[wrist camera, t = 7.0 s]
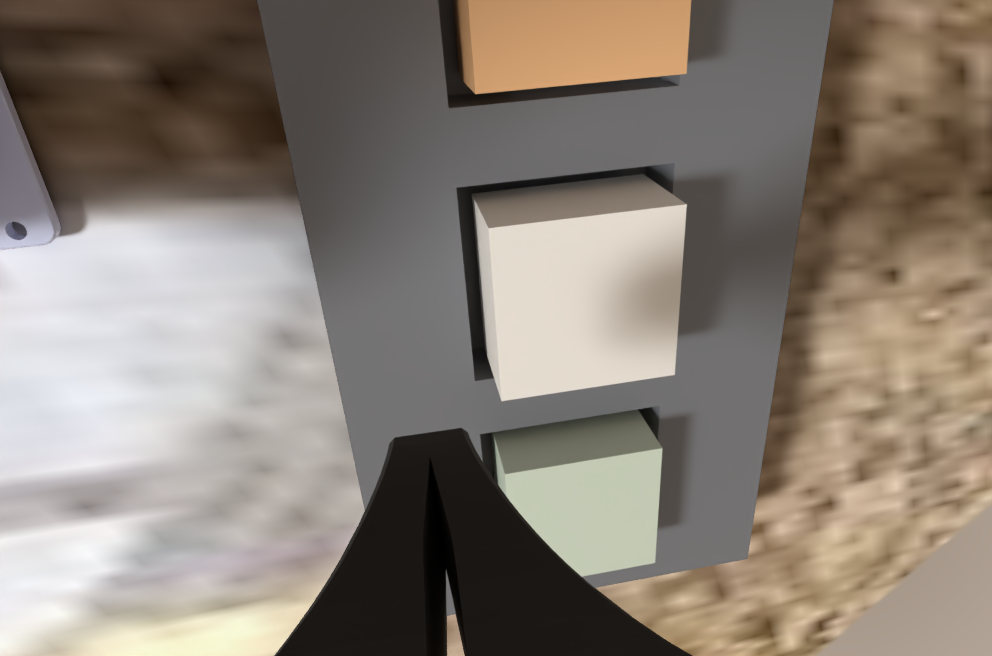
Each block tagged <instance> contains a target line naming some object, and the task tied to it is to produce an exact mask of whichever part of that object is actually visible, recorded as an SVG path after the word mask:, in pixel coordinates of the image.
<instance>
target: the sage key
mask: <svg viewBox="0 0 992 656" xmlns="http://www.w3.org/2000/svg"><path fill="white" fill-rule="evenodd" d="M490 434H491V445H492V457H493V468H494V480H495V482H496V483H497V484H498V486H499V487H500V488H501V490H502V491H503V492H504V494H505V495H506V496H507V498H508V499H509V500H510V502H511V503H512V504H513V506H514V507H515V508H516V509H517V511H518V512H519V513H520V514H521V515H522V517H523V518H524V519H525V520H526V521H527V522H528V523H529V525H530V526H531V527H532V528H533V529H534V530H535V532H536V533H537V534H538V535H539V536H540V537H541V538H542V539H543V540H544V541H545V542H546V543H547V544H548V545H549V546H550V547H551V548H552V549H553V550H554V551H555V552H556V553H557V554H558V555H559V556H560V557H561V558H562V559H563V560H564V561H565V562H566V563H567V564H568V565H569V566H570V567H571V568H572V569H574V570H575V571H576V572H577V573H578V574H579V575H580V576H581V577H583V576H588V575H593V574H599V573H604V572H609V571H615V570H620V569H625V568H631V567H636V566H641V565H647V564H652V563H655V557H656V541H657V526H658V510H659V495H660V479H661V463H662V447H661V445H660V443H659V442H658V440H657V439H656V437H655V436H654V434H653V432H652V431H651V429H650V428H649V426H648V425H647V423H646V421H645V420H644V418H643V417H642V415H641V413H640V412H639V410H638V409H637V410H630V411H624V412H618V413H611V414H605V415H599V416H592V417H586V418H580V419H573V420H567V421H561V422H554V423H548V424H542V425H535V426H529V427H523V428H516V429H510V430H504V431H497V432H491V433H490Z"/></svg>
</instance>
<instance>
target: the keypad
mask: <svg viewBox="0 0 992 656" xmlns="http://www.w3.org/2000/svg"><path fill="white" fill-rule="evenodd" d="M257 2H258V7H259V12H260V16H261V21H262V26H263V31H264V35H265V40H266V45H267V49H268V54H269V59H270V64H271V68H272V73H273V78H274V83H275V87H276V92H277V97H278V101H279V106H280V111H281V116H282V120H283V125H284V130H285V135H286V139H287V144H288V149H289V154H290V158H291V163H292V168H293V172H294V177H295V182H296V187H297V191H298V196H299V201H300V206H301V210H302V215H303V220H304V224H305V229H306V234H307V239H308V243H309V248H310V253H311V258H312V262H313V267H314V272H315V277H316V281H317V286H318V291H319V295H320V300H321V305H322V310H323V314H324V319H325V324H326V329H327V333H328V338H329V343H330V347H331V352H332V357H333V362H334V366H335V371H336V376H337V381H338V385H339V390H340V395H341V400H342V404H343V409H344V414H345V418H346V423H347V428H348V433H349V437H350V442H351V447H352V452H353V456H354V461H355V466H356V470H357V475H358V480H359V485H360V489H361V494H362V499H363V504H364V508H365V510H366V508H367V505H368V503H369V501H370V498H371V496H372V494H373V492H374V489H375V487H376V484H377V482H378V479H379V476H380V474H381V471H382V468H383V465H384V462H385V459H386V455H387V452H388V447H389V443H390V442H391V441H392V440H393V439H394V438H395V437H401V436H408V435H415V434H422V433H429V432H436V431H442V430H449V429H456V428H463V429H464V430H465V431H467V432H468V434H469V437H470V439H471V441H472V443H473V446H474V448H475V449H476V451H477V453H478V455H479V457H480V458H481V460H482V462H483V463H484V465H485V466H486V468H487V470H488V471H489V473H490V474H491V476H492V477H493V479H494V468H493V457H492V445H491V434H490V433H491V432H497V431H504V430H510V429H516V428H523V427H529V426H535V425H542V424H548V423H554V422H561V421H567V420H573V419H580V418H586V417H592V416H599V415H605V414H611V413H618V412H624V411H630V410H637V409H638V410H639V412H640V413H641V415H642V417H643V418H644V420H645V421H646V423H647V425H648V426H649V428H650V429H651V431H652V432H653V434H654V436H655V437H656V439H657V440H658V442H659V443H660V445H661V447H662V463H661V479H660V495H659V510H658V526H657V541H656V557H655V563H652V564H647V565H641V566H636V567H631V568H625V569H620V570H615V571H609V572H604V573H599V574H593V575H588V576H583V578H584V579H585V580H586V581H587V582H588V583H589V584H590V585H592V586H593V587H594V588H596V587H601V586H607V585H612V584H617V583H622V582H628V581H633V580H638V579H644V578H649V577H654V576H659V575H665V574H670V573H675V572H681V571H686V570H691V569H696V568H702V567H707V566H712V565H717V564H723V563H728V562H733V561H739V560H744V559H747V558H748V551H749V545H750V538H751V532H752V526H753V519H754V513H755V506H756V500H757V493H758V487H759V480H760V474H761V467H762V461H763V455H764V448H765V442H766V435H767V429H768V422H769V416H770V409H771V403H772V396H773V390H774V383H775V377H776V371H777V364H778V358H779V351H780V345H781V338H782V332H783V325H784V319H785V312H786V306H787V300H788V293H789V287H790V280H791V274H792V267H793V261H794V254H795V248H796V241H797V235H798V229H799V222H800V216H801V209H802V203H803V196H804V190H805V183H806V177H807V170H808V164H809V157H810V151H811V145H812V138H813V132H814V125H815V119H816V112H817V106H818V99H819V93H820V86H821V80H822V74H823V67H824V61H825V54H826V48H827V41H828V35H829V28H830V22H831V15H832V9H833V2H834V0H691V12H690V28H689V43H688V59H687V74H680V75H669V76H659V77H649V78H638V79H628V80H618V81H607V82H597V83H586V84H576V85H566V86H555V87H545V88H535V89H524V90H514V91H504V92H493V93H483V94H475V93H474V92H473V91H472V90H471V89H470V88H469V87H468V86H467V85H466V84H465V83H464V82H463V81H462V80H461V79H460V78H459V67H458V55H457V44H456V32H455V21H454V9H453V0H257ZM639 174H644V175H645V176H647V177H648V178H650V179H651V180H652V181H654V182H655V183H657V184H658V185H660V186H661V187H663V188H664V189H665V190H667V191H668V192H670V193H671V194H673V195H674V196H676V197H677V198H678V199H680V200H681V201H683V202H684V203H686V204H687V208H686V222H685V237H684V251H683V265H682V279H681V293H680V307H679V322H678V336H677V350H676V364H675V375H671V376H664V377H658V378H651V379H644V380H638V381H631V382H625V383H618V384H612V385H605V386H599V387H592V388H585V389H579V390H572V391H566V392H559V393H553V394H546V395H540V396H533V397H526V398H520V399H513V400H507V401H501V398H500V395H499V392H498V389H497V385H496V382H495V379H494V376H493V373H492V370H491V367H490V363H489V360H488V357H487V354H486V351H485V345H484V333H483V322H482V310H481V298H480V287H479V275H478V263H477V252H476V240H475V228H474V217H473V205H472V194H473V193H481V192H490V191H499V190H508V189H516V188H525V187H534V186H543V185H551V184H560V183H569V182H578V181H586V180H595V179H604V178H613V177H621V176H630V175H639ZM446 608H447V616H448V615H454V614H456V613H455V608H454V603H453V599H452V594H451V590H450V585H449V580H448V576H447V571H446Z"/></svg>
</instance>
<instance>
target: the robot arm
mask: <svg viewBox="0 0 992 656" xmlns="http://www.w3.org/2000/svg"><path fill="white" fill-rule="evenodd" d="M12 222H18V223H20V224H22V225H23V226H24V227H25V228H26V230H27V235H21V234H19V233H17V232H16V231H15V230H14V229H13V228H12ZM60 231H61V227H60V222H59V219H58V217H57V214H56V212H55V209H54V207H53V204H52V201H51V199H50V196H49V194H48V191H47V189H46V186H45V184H44V181H43V178H42V176H41V173H40V171H39V168H38V166H37V163H36V161H35V158H34V156H33V153H32V150H31V148H30V145H29V143H28V140H27V138H26V135H25V133H24V130H23V127H22V125H21V122H20V120H19V117H18V115H17V112H16V110H15V107H14V104H13V102H12V99H11V97H10V94H9V92H8V89H7V87H6V84H5V82H4V79H3V76H2V74H1V71H0V250H5V249H14V248H23V247H31V246H40V245H45V244H48V243H51V242H52V241H53V240H54V239H55V238H56V237H58V236H59V234H60ZM446 571H447V576H448V580H449V585H450V590H451V594H452V599H453V603H454V608H455V613H456V617H457V622H458V627H459V631H460V636H461V640H462V645H463V650H464V654H465V656H692V655H690V654H689V653H687V652H685V651H683V650H682V649H680V648H678V647H677V646H675V645H673V644H671V643H670V642H668V641H667V640H665V639H663V638H662V637H661V636H659V635H658V634H656V633H655V632H653V631H652V630H650V629H649V628H647V627H646V626H644V625H643V624H642V623H640V622H639V621H637V620H636V619H634V618H633V617H631V616H630V615H629V614H628V613H626V612H625V611H624V610H622V609H621V608H620V607H619V606H617V605H616V604H615V603H614V602H612V601H611V600H610V599H608V598H607V597H606V596H605V595H603V594H602V593H601V592H599V591H598V590H597V589H596V588H594V587H593V586H592V585H590V584H589V583H588V582H587V581H586V580H585V579H584V578H583V577H581V576H580V575H579V574H578V573H577V572H576V571H575V570H574V569H572V568H571V567H570V566H569V565H568V564H567V563H566V562H565V561H564V560H563V559H562V558H561V557H560V556H559V555H558V554H557V553H556V552H555V551H554V550H553V549H552V548H551V547H550V546H549V545H548V544H547V543H546V542H545V541H544V540H543V539H542V538H541V537H540V536H539V535H538V534H537V533H536V532H535V530H534V529H533V528H532V527H531V526H530V525H529V523H528V522H527V521H526V520H525V519H524V518H523V517H522V515H521V514H520V513H519V512H518V511H517V509H516V508H515V507H514V506H513V504H512V503H511V502H510V500H509V499H508V498H507V496H506V495H505V494H504V492H503V491H502V490H501V488H500V487H499V486H498V484H497V483H496V482H495V480H494V479H493V477H492V476H491V474H490V473H489V471H488V470H487V468H486V466H485V465H484V463H483V462H482V460H481V458H480V457H479V455H478V453H477V451H476V449H475V448H474V446H473V443H472V441H471V439H470V437H469V434H468V432H467V431H465V430H464V429H463V428H456V429H449V430H442V431H436V432H429V433H422V434H415V435H408V436H401V437H395V438H394V439H393V440H392V441H391V442H390V443H389V447H388V452H387V455H386V459H385V462H384V465H383V468H382V471H381V474H380V476H379V479H378V482H377V484H376V487H375V489H374V492H373V494H372V496H371V498H370V501H369V503H368V505H367V508H366V510H365V512H364V514H363V517H362V519H361V521H360V523H359V525H358V527H357V529H356V531H355V533H354V534H353V536H352V538H351V540H350V542H349V544H348V546H347V548H346V550H345V552H344V554H343V555H342V557H341V559H340V561H339V563H338V564H337V566H336V568H335V569H334V571H333V573H332V574H331V576H330V578H329V579H328V581H327V583H326V584H325V586H324V587H323V589H322V590H321V592H320V593H319V595H318V596H317V598H316V600H315V601H314V603H313V604H312V606H311V607H310V608H309V610H308V611H307V613H306V614H305V615H304V617H303V618H302V619H301V621H300V622H299V624H298V625H297V626H296V628H295V629H294V631H293V632H292V633H291V635H290V636H289V637H288V639H287V640H286V641H285V643H284V644H283V645H282V647H281V648H280V649H279V650H278V652H277V653H276V654H275V655H274V656H447V608H446Z"/></svg>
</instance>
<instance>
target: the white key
mask: <svg viewBox="0 0 992 656" xmlns="http://www.w3.org/2000/svg"><path fill="white" fill-rule="evenodd" d="M472 205H473V217H474V228H475V240H476V252H477V263H478V275H479V287H480V298H481V310H482V322H483V333H484V345H485V351H486V354H487V357H488V360H489V363H490V367H491V370H492V373H493V376H494V379H495V382H496V385H497V389H498V392H499V395H500V398H501V401H507V400H513V399H520V398H526V397H533V396H540V395H546V394H553V393H559V392H566V391H572V390H579V389H585V388H592V387H599V386H605V385H612V384H618V383H625V382H631V381H638V380H644V379H651V378H658V377H664V376H671V375H675V364H676V350H677V336H678V322H679V307H680V293H681V279H682V265H683V251H684V237H685V222H686V208H687V204H686V203H684V202H683V201H681V200H680V199H678V198H677V197H676V196H674V195H673V194H671V193H670V192H668V191H667V190H665V189H664V188H663V187H661V186H660V185H658V184H657V183H655V182H654V181H652V180H651V179H650V178H648V177H647V176H645V175H644V174H639V175H630V176H621V177H613V178H604V179H595V180H586V181H578V182H569V183H560V184H551V185H543V186H534V187H525V188H516V189H508V190H499V191H490V192H481V193H473V194H472Z"/></svg>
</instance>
